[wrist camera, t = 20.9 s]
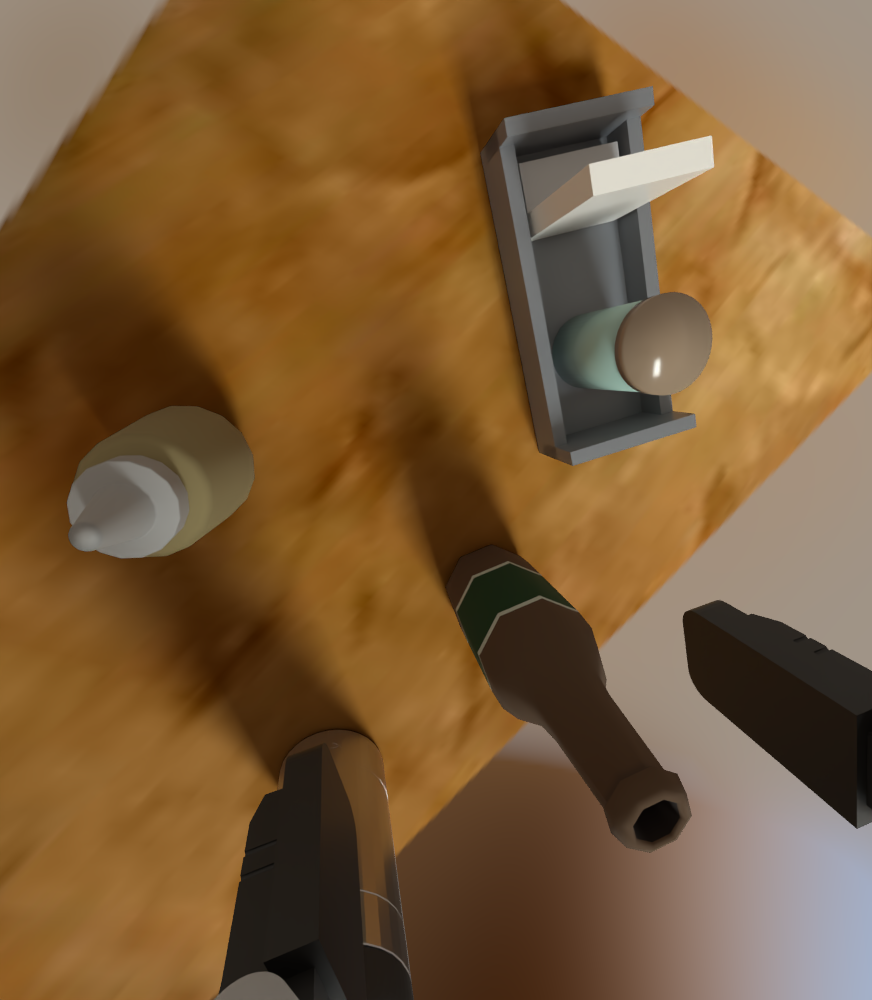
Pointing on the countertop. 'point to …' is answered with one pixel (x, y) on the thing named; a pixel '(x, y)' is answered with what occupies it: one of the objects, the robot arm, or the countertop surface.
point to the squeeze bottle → (159, 484)
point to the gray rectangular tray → (575, 278)
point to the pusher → (604, 183)
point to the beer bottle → (563, 691)
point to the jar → (636, 346)
